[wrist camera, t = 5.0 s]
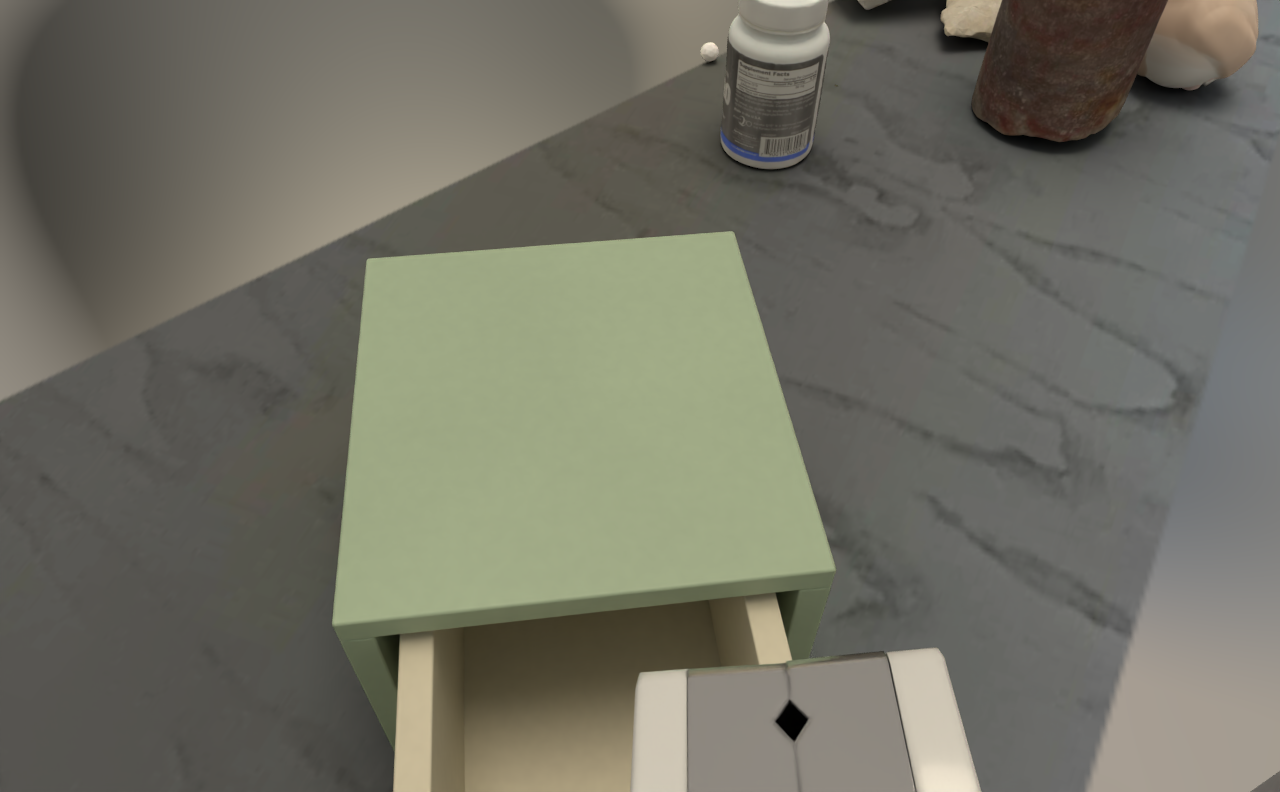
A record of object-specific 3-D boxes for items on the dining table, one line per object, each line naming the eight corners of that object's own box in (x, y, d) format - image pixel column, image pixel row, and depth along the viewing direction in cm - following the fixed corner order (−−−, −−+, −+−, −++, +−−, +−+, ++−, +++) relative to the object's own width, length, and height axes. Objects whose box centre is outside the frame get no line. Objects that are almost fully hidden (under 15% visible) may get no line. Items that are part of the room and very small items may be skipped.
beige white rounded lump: (1123, 117, 52) (1210, 103, 56) (1235, 55, 46) (1324, 44, 50) (1082, 8, 53) (1170, 1, 56) (1186, -67, 47) (1278, -69, 51)
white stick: (838, 87, 53) (829, 108, 53) (707, 38, 54) (698, 60, 54) (837, 84, 52) (828, 105, 52) (704, 34, 53) (696, 55, 53)
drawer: (841, 1001, 23) (902, 937, 18) (407, 1067, 22) (340, 1019, 17) (739, 554, 31) (760, 423, 26) (421, 588, 30) (378, 459, 25)
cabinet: (790, 718, 29) (837, 570, 22) (401, 766, 28) (330, 625, 21) (715, 405, 37) (734, 230, 30) (413, 433, 36) (366, 257, 29)
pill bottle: (737, 111, 50) (752, -49, 44) (822, 131, 49) (851, -30, 43) (705, 158, 48) (717, -5, 41) (796, 181, 46) (822, 17, 40)
